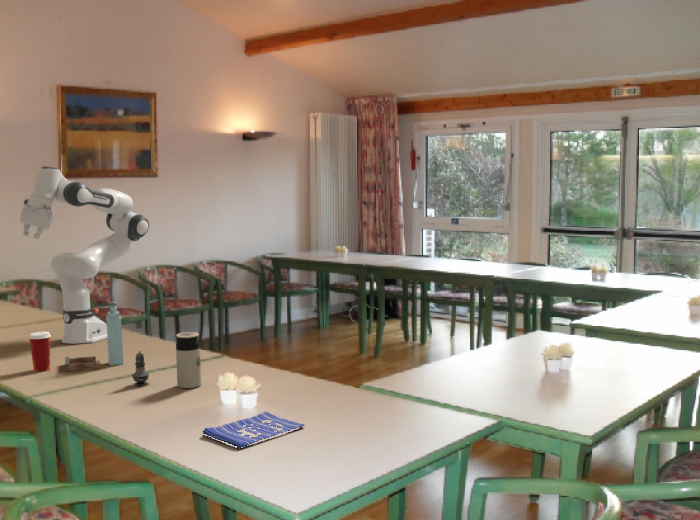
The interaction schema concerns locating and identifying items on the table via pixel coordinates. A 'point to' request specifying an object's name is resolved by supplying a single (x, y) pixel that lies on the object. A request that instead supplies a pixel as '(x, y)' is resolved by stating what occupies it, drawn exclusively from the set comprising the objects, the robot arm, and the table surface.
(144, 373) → the salt shaker
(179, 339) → the travel mug
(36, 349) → the paper cup
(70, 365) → the brown square frame
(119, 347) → the bottle
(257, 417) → the dish towel
